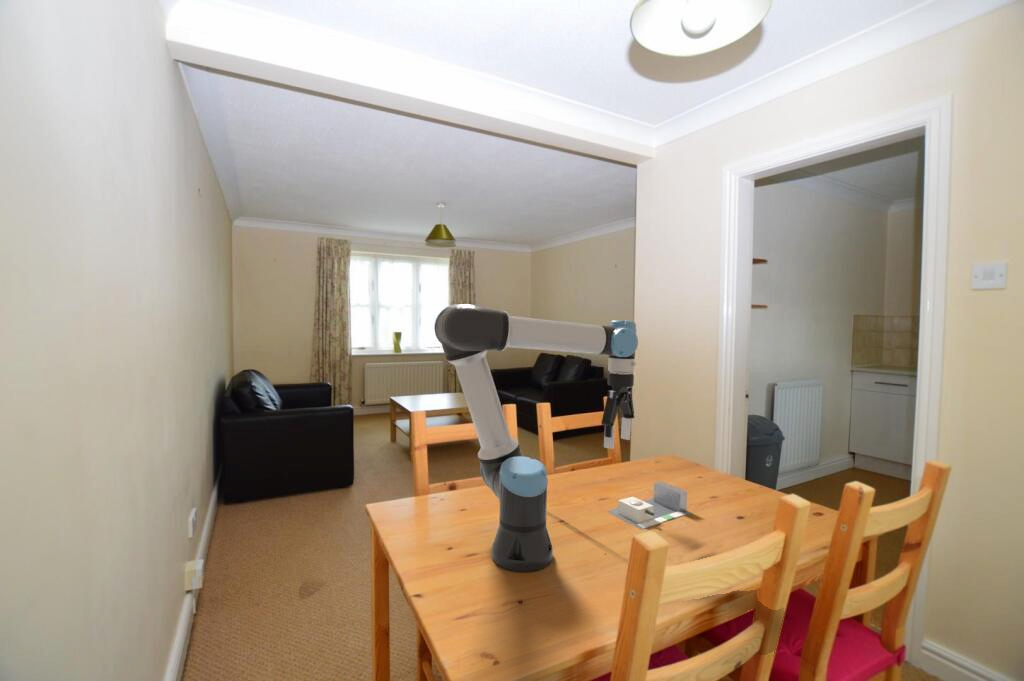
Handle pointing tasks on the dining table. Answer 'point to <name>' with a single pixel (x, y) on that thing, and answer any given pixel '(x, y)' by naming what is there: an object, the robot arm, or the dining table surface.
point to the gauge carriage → (635, 509)
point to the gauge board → (659, 517)
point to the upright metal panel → (670, 496)
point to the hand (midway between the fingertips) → (617, 443)
